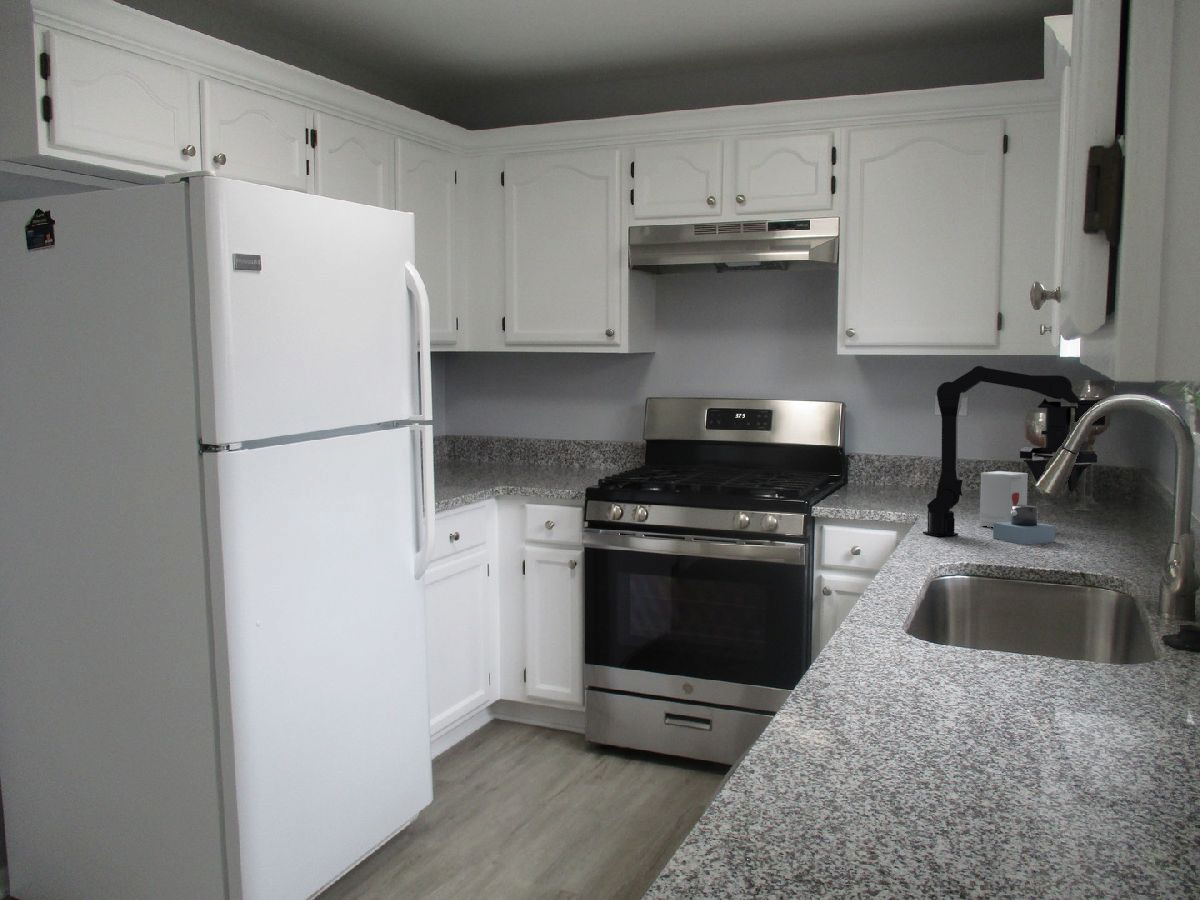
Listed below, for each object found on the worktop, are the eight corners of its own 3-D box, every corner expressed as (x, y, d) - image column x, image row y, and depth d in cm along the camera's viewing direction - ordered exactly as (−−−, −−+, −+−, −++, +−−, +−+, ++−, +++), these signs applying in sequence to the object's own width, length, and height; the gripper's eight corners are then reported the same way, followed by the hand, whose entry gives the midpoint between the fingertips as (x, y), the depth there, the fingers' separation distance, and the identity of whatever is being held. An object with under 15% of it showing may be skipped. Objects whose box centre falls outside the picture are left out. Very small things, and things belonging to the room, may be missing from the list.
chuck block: (993, 538, 241) (993, 522, 241) (1023, 535, 245) (1023, 520, 244) (1023, 544, 232) (1024, 528, 231) (1054, 541, 235) (1055, 525, 235)
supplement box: (1009, 530, 254) (1010, 474, 253) (978, 526, 261) (979, 472, 260) (1027, 527, 259) (1029, 472, 258) (997, 523, 267) (998, 470, 265)
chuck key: (1020, 541, 234) (1021, 508, 233) (1002, 537, 239) (1002, 506, 239) (1045, 538, 237) (1046, 507, 236) (1026, 535, 242) (1027, 504, 242)
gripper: (1115, 427, 228) (1113, 492, 229) (1051, 424, 245) (1050, 484, 246) (1080, 428, 224) (1078, 494, 225) (1018, 425, 241) (1017, 486, 242)
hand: (1056, 489), depth 234 cm, fingers open, 9 cm apart
